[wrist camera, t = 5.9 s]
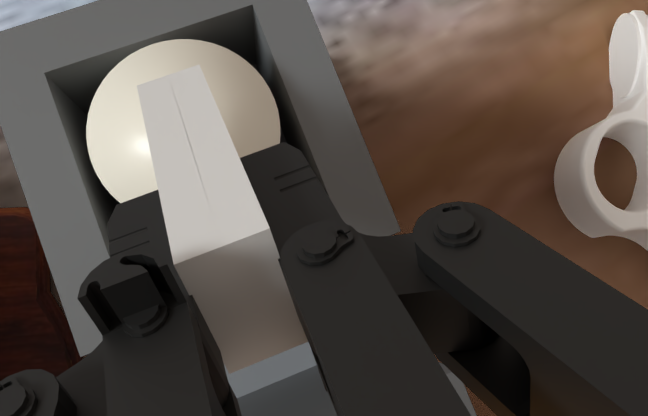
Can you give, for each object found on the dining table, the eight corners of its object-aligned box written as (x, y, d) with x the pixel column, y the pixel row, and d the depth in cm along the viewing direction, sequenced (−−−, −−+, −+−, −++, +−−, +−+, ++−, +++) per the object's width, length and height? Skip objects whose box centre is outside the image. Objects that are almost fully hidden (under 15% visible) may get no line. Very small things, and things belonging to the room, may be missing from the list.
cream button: (300, 206, 20) (308, 184, 16) (153, 262, 19) (123, 253, 15) (246, 68, 21) (240, 14, 17) (101, 118, 20) (59, 74, 16)
